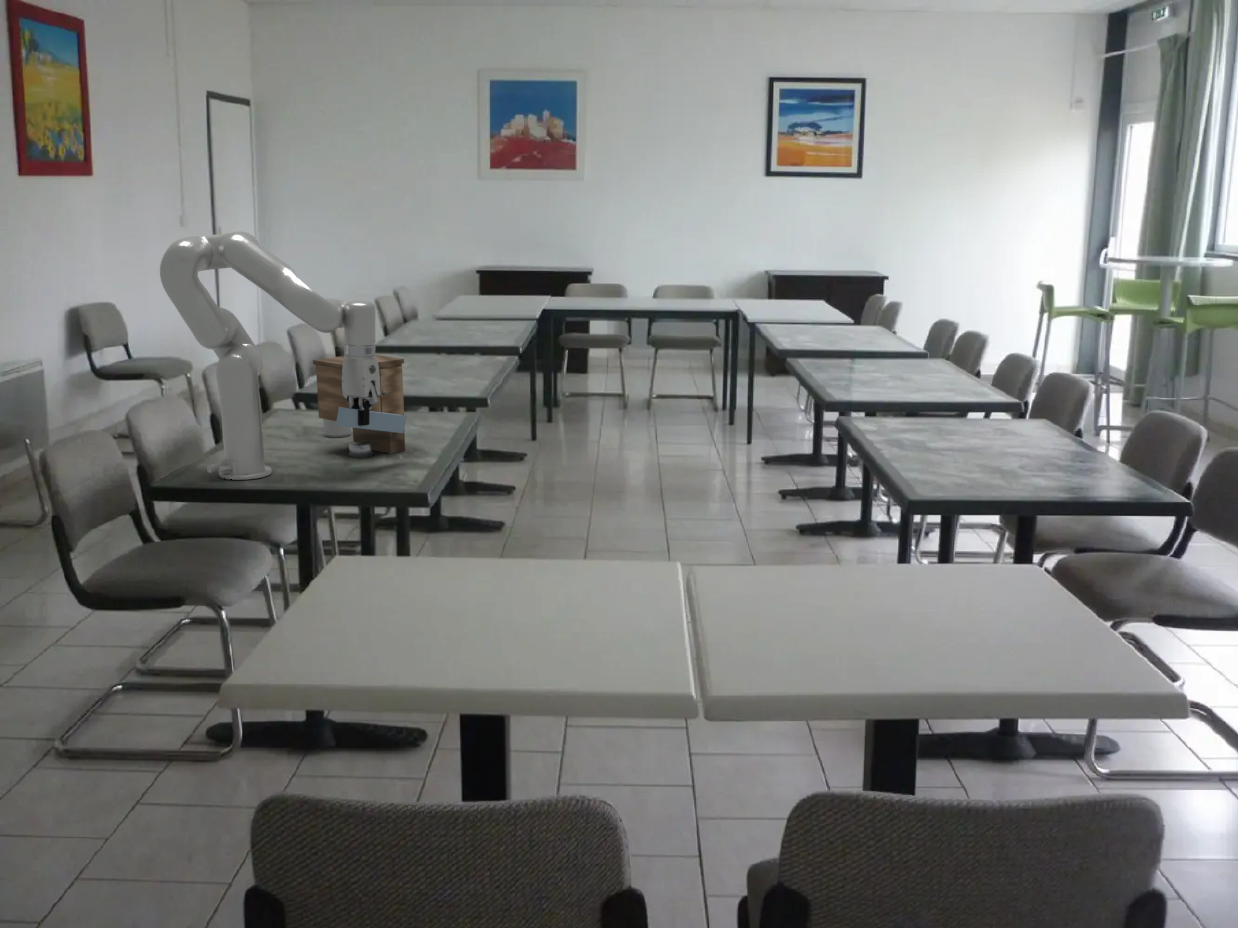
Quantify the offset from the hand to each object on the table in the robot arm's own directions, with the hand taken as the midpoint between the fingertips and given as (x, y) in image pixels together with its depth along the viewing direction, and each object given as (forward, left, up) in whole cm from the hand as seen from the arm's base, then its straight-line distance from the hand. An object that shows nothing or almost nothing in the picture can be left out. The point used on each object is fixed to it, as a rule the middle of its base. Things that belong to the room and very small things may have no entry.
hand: (359, 423), depth 310 cm
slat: (+3, 0, -2) cm, 4 cm away
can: (+24, +41, -12) cm, 49 cm away
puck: (+11, +15, -12) cm, 22 cm away
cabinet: (+15, +18, -12) cm, 26 cm away
